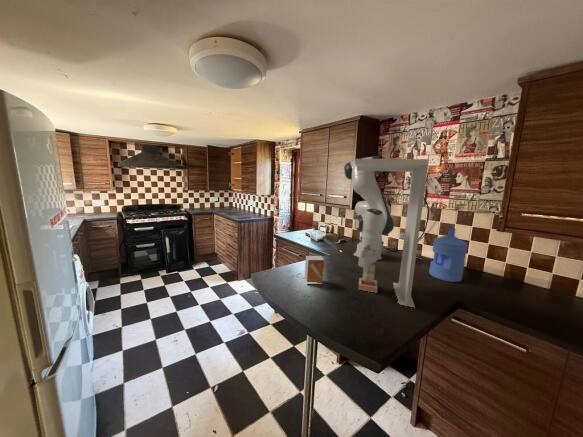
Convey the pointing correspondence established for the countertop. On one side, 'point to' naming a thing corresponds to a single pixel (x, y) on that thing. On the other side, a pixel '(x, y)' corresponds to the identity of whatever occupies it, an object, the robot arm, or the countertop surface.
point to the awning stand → (413, 216)
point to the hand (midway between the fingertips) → (368, 271)
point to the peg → (369, 274)
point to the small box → (314, 269)
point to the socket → (367, 286)
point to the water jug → (448, 257)
